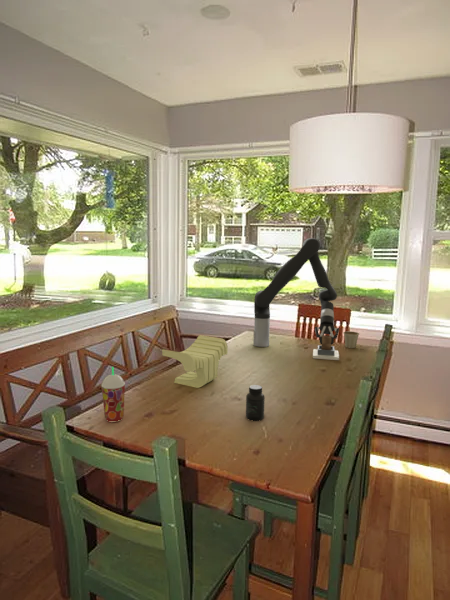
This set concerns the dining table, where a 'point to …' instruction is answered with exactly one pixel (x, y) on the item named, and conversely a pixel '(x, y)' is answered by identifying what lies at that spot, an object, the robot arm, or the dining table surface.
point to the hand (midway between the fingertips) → (326, 343)
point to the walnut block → (326, 342)
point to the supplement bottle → (255, 403)
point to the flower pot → (351, 339)
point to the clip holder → (325, 353)
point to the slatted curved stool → (199, 360)
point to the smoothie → (113, 397)
